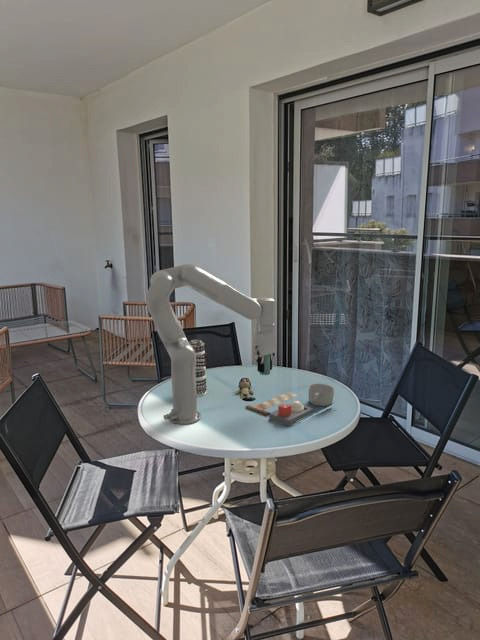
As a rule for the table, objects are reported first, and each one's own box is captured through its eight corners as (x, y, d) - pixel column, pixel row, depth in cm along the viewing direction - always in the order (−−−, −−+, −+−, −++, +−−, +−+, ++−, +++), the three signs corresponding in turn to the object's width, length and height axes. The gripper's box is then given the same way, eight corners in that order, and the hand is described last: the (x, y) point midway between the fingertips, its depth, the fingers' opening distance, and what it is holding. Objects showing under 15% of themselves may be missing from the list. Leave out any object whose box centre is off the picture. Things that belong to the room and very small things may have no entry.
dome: (297, 417, 191) (297, 405, 190) (286, 413, 195) (286, 401, 194) (306, 413, 195) (306, 400, 194) (295, 409, 200) (295, 397, 198)
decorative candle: (203, 397, 216) (201, 344, 210) (184, 395, 219) (181, 342, 213) (210, 390, 224) (208, 339, 219) (192, 388, 227) (190, 337, 222)
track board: (267, 415, 195) (267, 413, 194) (245, 408, 203) (245, 405, 203) (304, 398, 212) (304, 396, 212) (283, 392, 220) (283, 390, 220)
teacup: (315, 398, 213) (315, 381, 211) (338, 403, 206) (338, 385, 205) (300, 408, 201) (300, 390, 200) (323, 414, 195) (324, 395, 194)
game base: (289, 426, 184) (289, 411, 183) (269, 419, 191) (269, 404, 190) (313, 414, 196) (313, 399, 194) (294, 407, 202) (294, 393, 201)
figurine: (235, 393, 210) (236, 375, 224) (236, 405, 212) (236, 387, 226) (253, 393, 210) (253, 375, 223) (253, 405, 212) (253, 387, 226)
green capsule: (264, 375, 197) (264, 354, 195) (257, 373, 200) (257, 352, 198) (272, 373, 200) (272, 352, 198) (264, 371, 203) (264, 350, 201)
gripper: (271, 323, 204) (270, 364, 208) (244, 329, 192) (244, 373, 196) (285, 326, 199) (284, 368, 203) (258, 332, 187) (258, 377, 191)
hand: (264, 370), depth 199 cm, fingers closed on green capsule, 4 cm apart
